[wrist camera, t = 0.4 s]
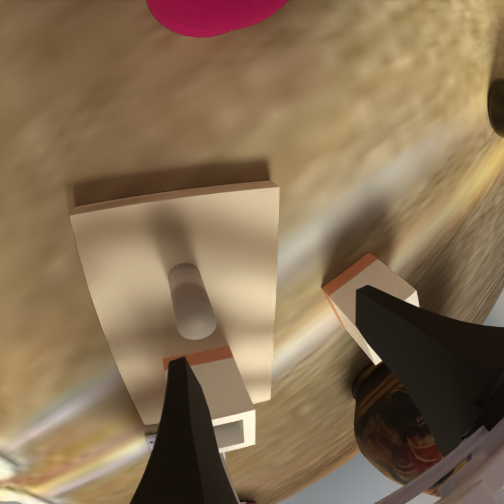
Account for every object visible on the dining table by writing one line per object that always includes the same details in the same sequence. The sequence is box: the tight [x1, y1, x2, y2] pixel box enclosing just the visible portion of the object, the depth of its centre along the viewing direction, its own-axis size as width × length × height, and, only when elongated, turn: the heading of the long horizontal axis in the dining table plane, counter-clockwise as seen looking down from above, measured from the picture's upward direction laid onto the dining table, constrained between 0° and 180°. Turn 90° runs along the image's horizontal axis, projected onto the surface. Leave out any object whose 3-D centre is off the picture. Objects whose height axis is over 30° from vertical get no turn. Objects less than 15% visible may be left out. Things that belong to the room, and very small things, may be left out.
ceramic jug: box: [352, 361, 467, 497], centre depth 23 cm, size 17×15×30 cm
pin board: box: [70, 181, 279, 427], centre depth 20 cm, size 20×12×6 cm, turn 0°
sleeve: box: [322, 252, 419, 365], centre depth 24 cm, size 5×5×6 cm
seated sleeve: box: [163, 346, 255, 453], centre depth 21 cm, size 5×5×6 cm
